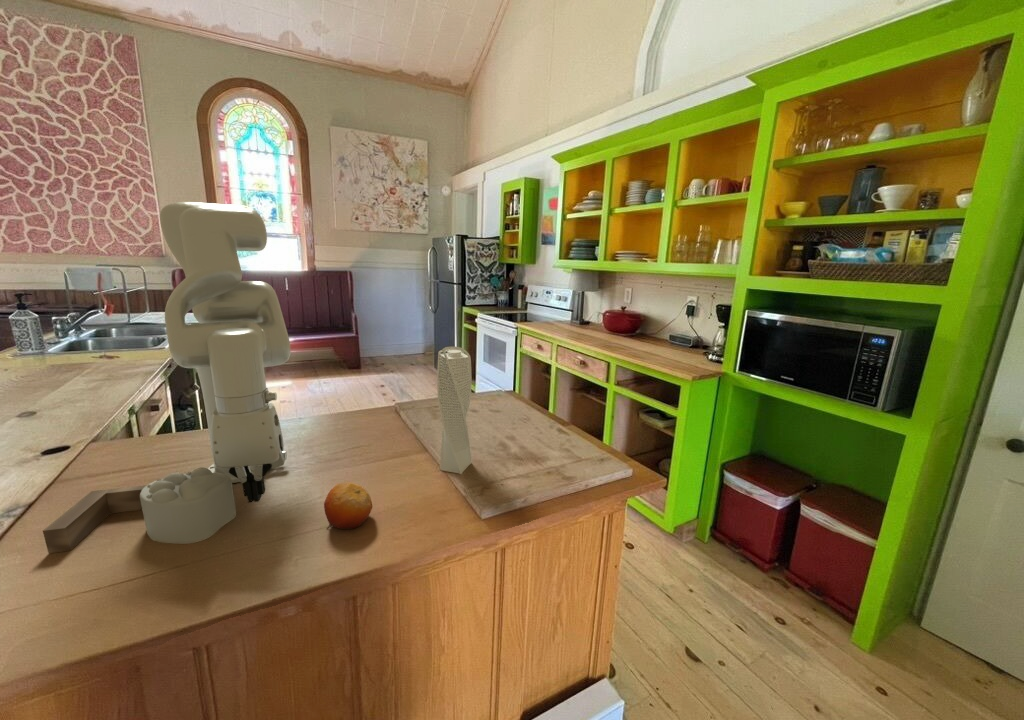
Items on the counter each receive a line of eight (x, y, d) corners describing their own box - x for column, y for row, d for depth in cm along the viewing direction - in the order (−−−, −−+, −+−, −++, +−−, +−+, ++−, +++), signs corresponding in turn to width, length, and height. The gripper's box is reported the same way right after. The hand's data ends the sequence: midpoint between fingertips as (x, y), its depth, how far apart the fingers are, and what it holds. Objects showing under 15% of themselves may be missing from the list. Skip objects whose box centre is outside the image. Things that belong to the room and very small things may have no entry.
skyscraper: (463, 478, 93) (461, 348, 86) (432, 472, 95) (428, 346, 89) (478, 462, 100) (477, 341, 94) (448, 457, 102) (446, 339, 96)
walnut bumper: (184, 500, 83) (181, 481, 82) (153, 539, 72) (148, 517, 71) (96, 511, 79) (91, 491, 78) (48, 553, 68) (42, 530, 67)
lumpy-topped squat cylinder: (198, 546, 70) (190, 497, 68) (126, 539, 72) (116, 491, 70) (244, 510, 81) (238, 466, 79) (180, 504, 82) (173, 461, 80)
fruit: (322, 503, 80) (343, 468, 79) (362, 522, 82) (382, 488, 80) (306, 530, 72) (328, 492, 71) (350, 550, 74) (372, 513, 73)
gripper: (294, 391, 80) (304, 482, 84) (200, 397, 76) (215, 493, 80) (286, 405, 73) (297, 503, 77) (181, 412, 69) (199, 516, 73)
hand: (255, 498), depth 79 cm, fingers closed
